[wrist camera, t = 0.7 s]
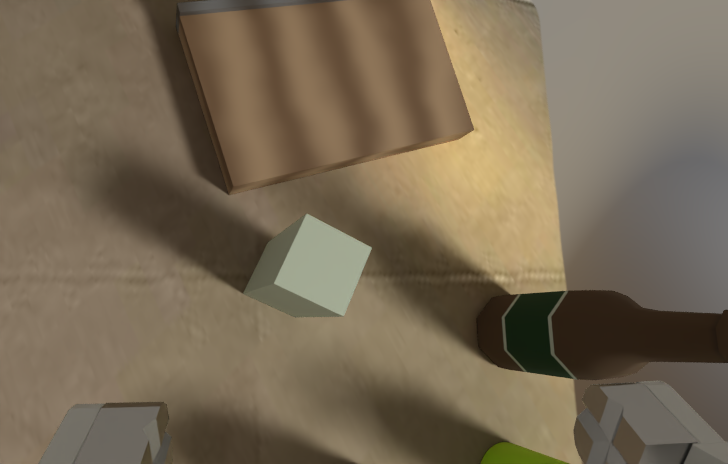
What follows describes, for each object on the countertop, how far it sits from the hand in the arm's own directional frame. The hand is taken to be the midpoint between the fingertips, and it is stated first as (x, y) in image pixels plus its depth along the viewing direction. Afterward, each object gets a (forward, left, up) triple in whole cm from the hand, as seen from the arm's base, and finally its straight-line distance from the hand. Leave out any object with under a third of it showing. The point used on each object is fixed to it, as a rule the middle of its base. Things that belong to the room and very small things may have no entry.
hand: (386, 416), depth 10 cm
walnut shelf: (+4, +25, -35) cm, 43 cm away
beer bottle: (+28, +7, -35) cm, 45 cm away
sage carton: (+4, +6, -35) cm, 36 cm away
